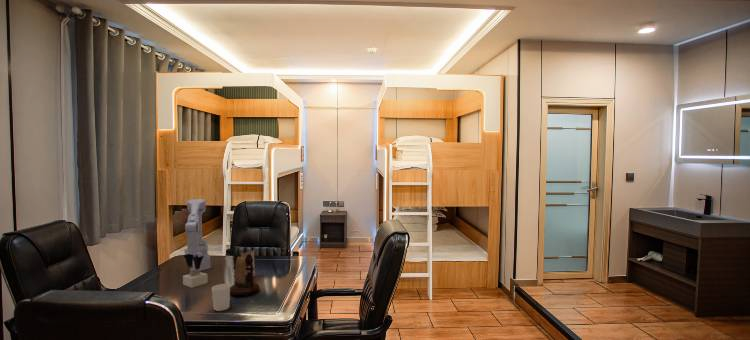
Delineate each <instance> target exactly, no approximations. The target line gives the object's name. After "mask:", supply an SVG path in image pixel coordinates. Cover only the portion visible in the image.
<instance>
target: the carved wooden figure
mask: <svg viewBox="0 0 750 340" xmlns="http://www.w3.org/2000/svg"><path fill="white" fill-rule="evenodd" d="M240 254H241V257H246V256H247V255H248V254H251V256H252V259H253V261H252V262H253V263H252V264H253V268H254V270H253V277H255V274H256V272H255V271H256V270H255V269H256V268H255V267H256V266H255V250H250V251H246V252H243V253H240ZM246 268H248V267H246ZM249 268H250V266H249ZM249 272H250V271H249V270H246V271H245V276H247V274H248V273H249Z"/></svg>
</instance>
